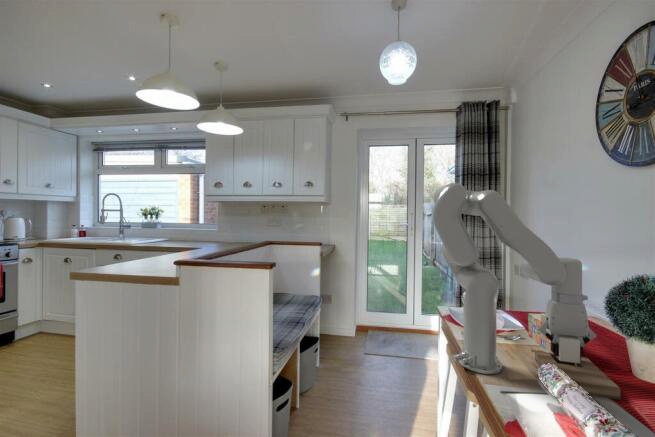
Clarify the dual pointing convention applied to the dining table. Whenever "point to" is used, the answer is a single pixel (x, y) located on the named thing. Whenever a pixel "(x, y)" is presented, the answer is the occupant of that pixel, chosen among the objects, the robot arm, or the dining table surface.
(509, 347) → the dining table surface
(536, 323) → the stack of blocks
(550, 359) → the walnut puzzle board
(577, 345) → the cream block
